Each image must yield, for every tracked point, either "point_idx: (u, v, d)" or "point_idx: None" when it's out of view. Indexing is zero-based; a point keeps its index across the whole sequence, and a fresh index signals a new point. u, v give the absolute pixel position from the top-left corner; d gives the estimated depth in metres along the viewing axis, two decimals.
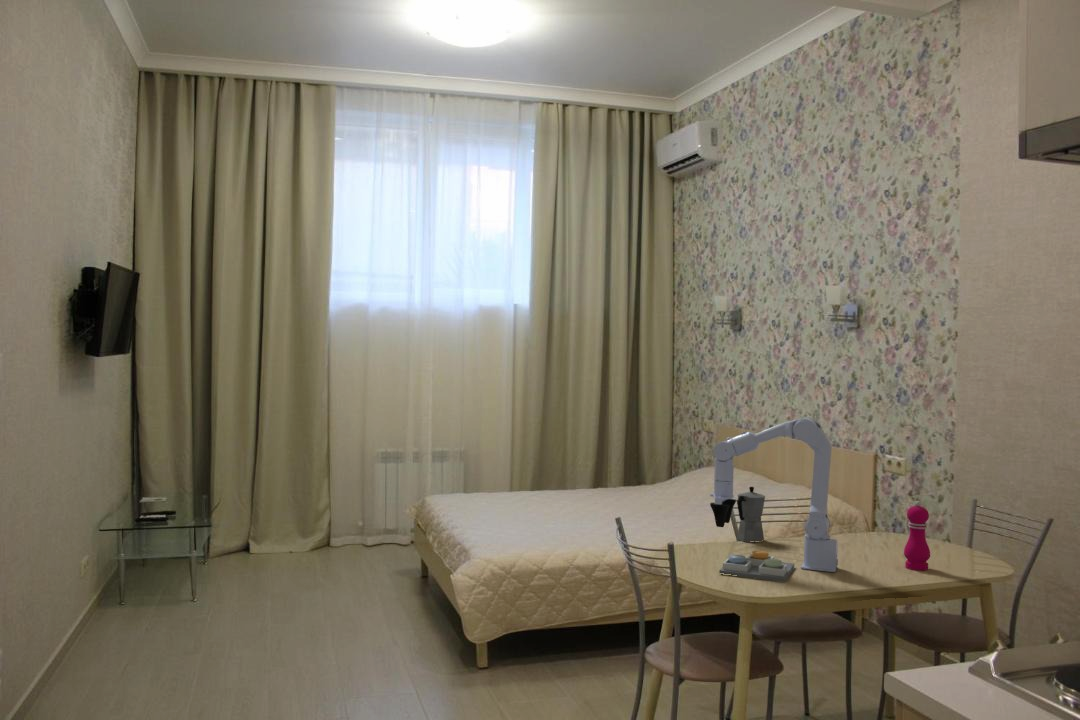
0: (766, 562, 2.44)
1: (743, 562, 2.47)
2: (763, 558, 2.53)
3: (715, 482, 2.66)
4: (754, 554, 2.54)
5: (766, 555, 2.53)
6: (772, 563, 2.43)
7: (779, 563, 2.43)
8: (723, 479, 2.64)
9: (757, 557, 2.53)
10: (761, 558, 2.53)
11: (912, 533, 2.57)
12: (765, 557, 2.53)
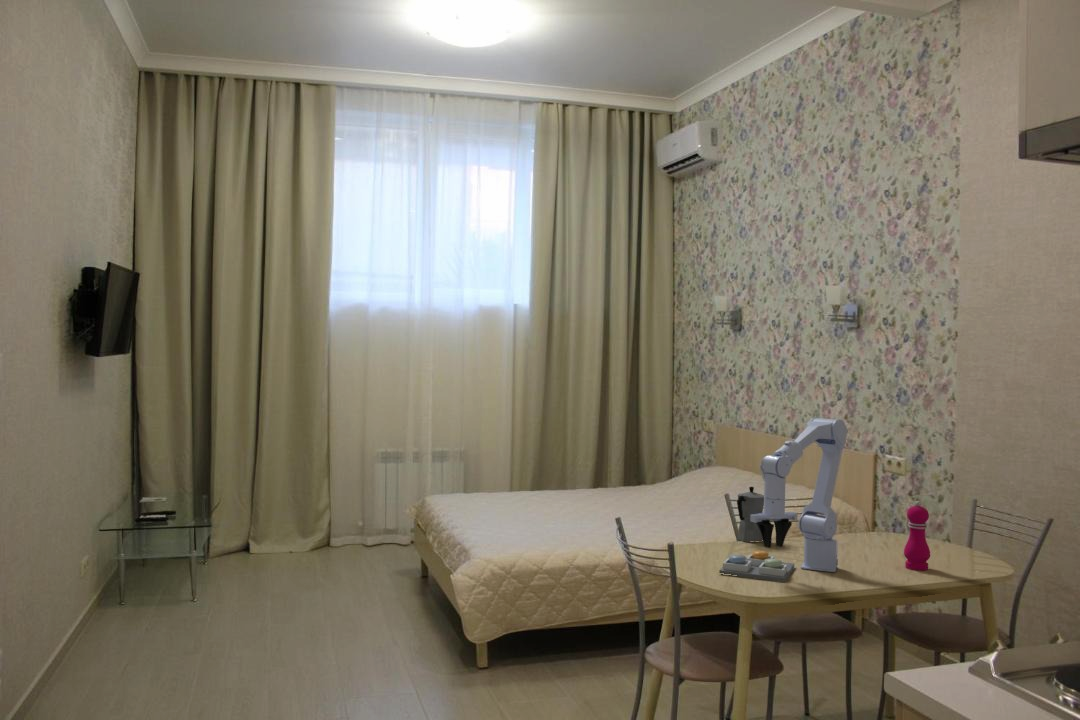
0: (766, 562, 2.44)
1: (743, 562, 2.47)
2: (763, 558, 2.53)
3: None
4: (754, 554, 2.54)
5: (766, 555, 2.53)
6: (772, 563, 2.43)
7: (779, 563, 2.43)
8: (783, 497, 2.43)
9: (757, 557, 2.53)
10: (761, 558, 2.53)
11: (912, 533, 2.57)
12: (765, 557, 2.53)
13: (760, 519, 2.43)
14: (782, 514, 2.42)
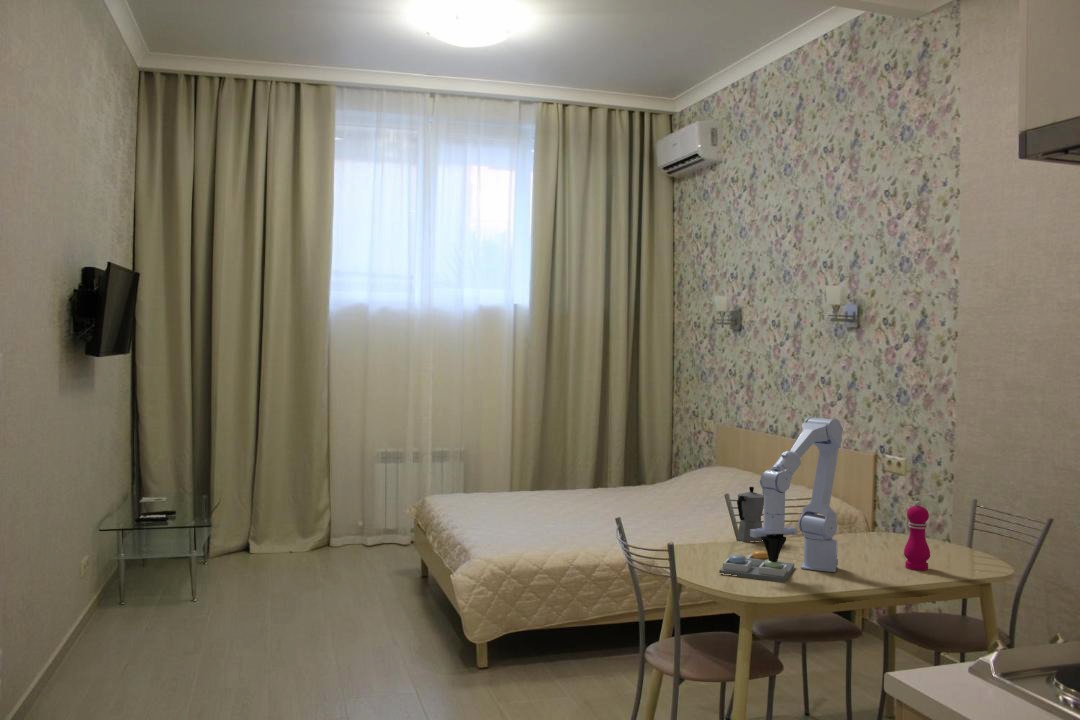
0: (766, 563, 2.44)
1: (743, 562, 2.47)
2: (763, 558, 2.53)
3: None
4: (754, 554, 2.54)
5: (766, 555, 2.53)
6: (772, 564, 2.43)
7: (779, 564, 2.43)
8: (783, 512, 2.43)
9: (757, 557, 2.53)
10: (761, 558, 2.53)
11: (912, 533, 2.57)
12: (765, 557, 2.53)
13: (760, 534, 2.43)
14: (782, 529, 2.42)
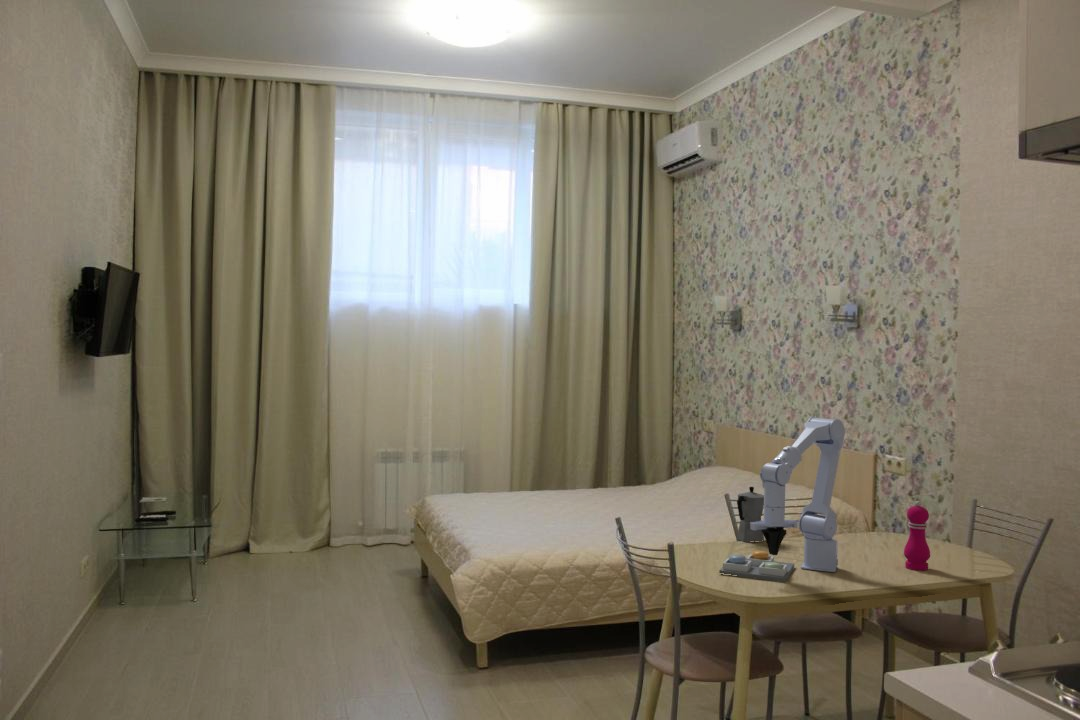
0: (766, 566, 2.44)
1: (743, 562, 2.47)
2: (763, 558, 2.53)
3: None
4: (754, 554, 2.54)
5: (766, 555, 2.53)
6: (772, 567, 2.43)
7: (779, 567, 2.43)
8: (783, 505, 2.43)
9: (757, 557, 2.53)
10: (761, 558, 2.53)
11: (912, 533, 2.57)
12: (765, 557, 2.53)
13: (760, 527, 2.43)
14: (782, 522, 2.42)
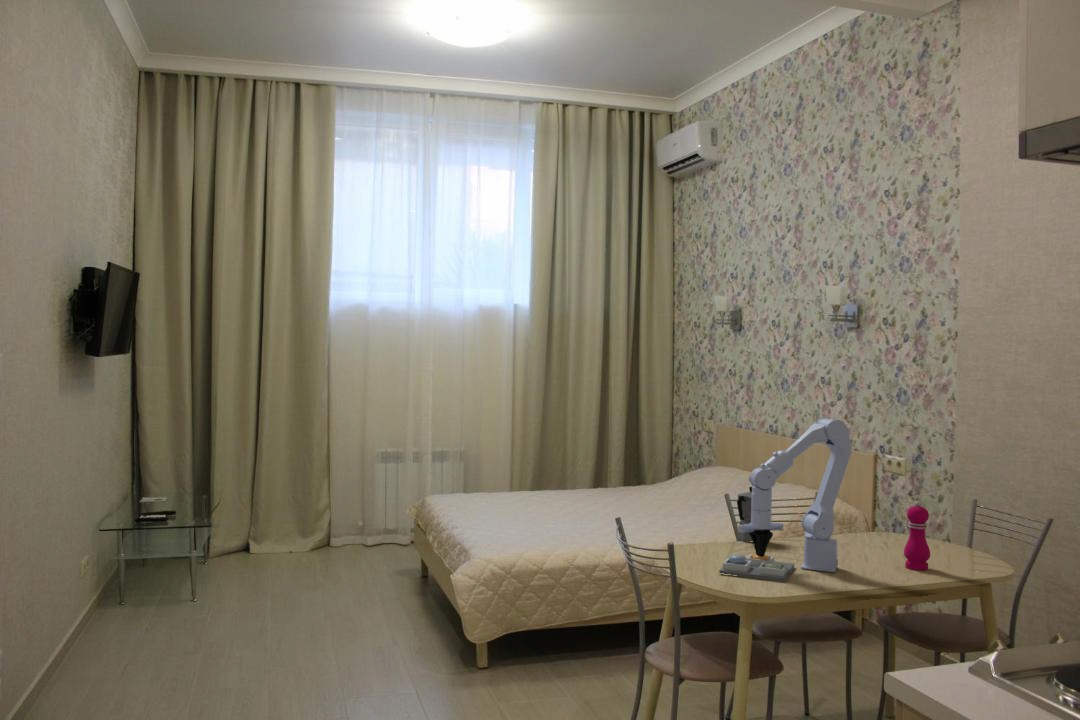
0: (766, 566, 2.44)
1: (743, 562, 2.47)
2: None
3: None
4: (754, 557, 2.54)
5: (766, 558, 2.53)
6: (772, 567, 2.43)
7: (779, 567, 2.43)
8: (766, 508, 2.52)
9: None
10: None
11: (912, 533, 2.57)
12: None
13: (747, 529, 2.53)
14: (768, 525, 2.53)
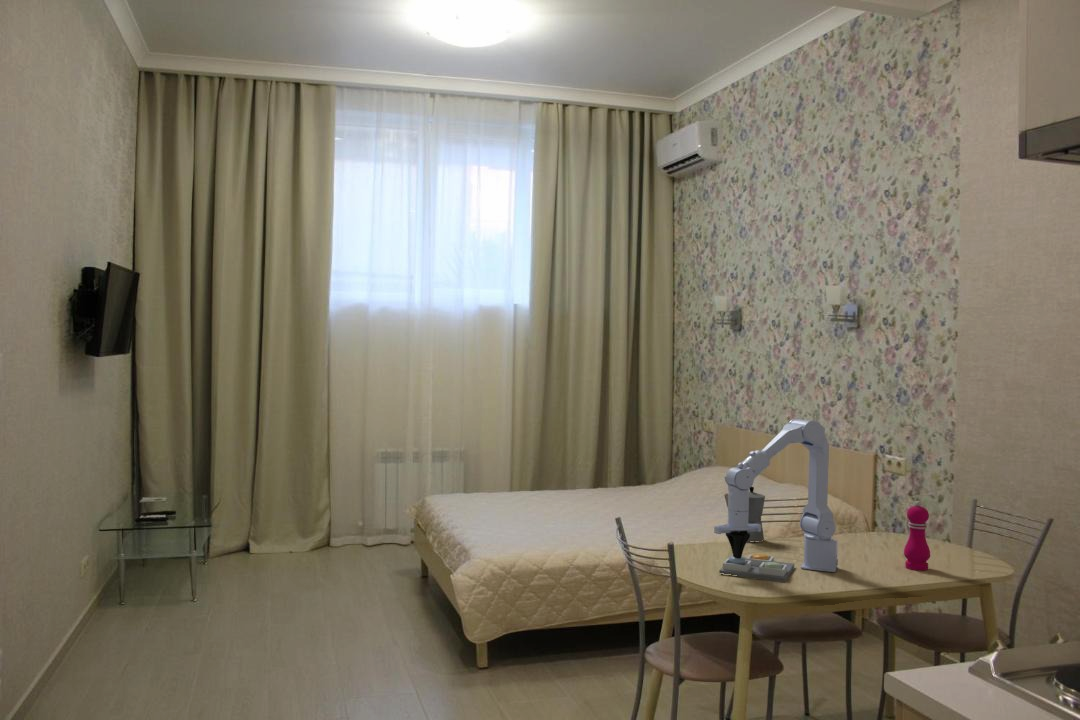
0: (766, 566, 2.44)
1: (743, 563, 2.47)
2: None
3: None
4: (754, 557, 2.54)
5: (766, 558, 2.53)
6: (772, 567, 2.43)
7: (779, 567, 2.43)
8: (744, 509, 2.46)
9: None
10: None
11: (912, 533, 2.57)
12: None
13: (724, 531, 2.47)
14: (745, 526, 2.46)
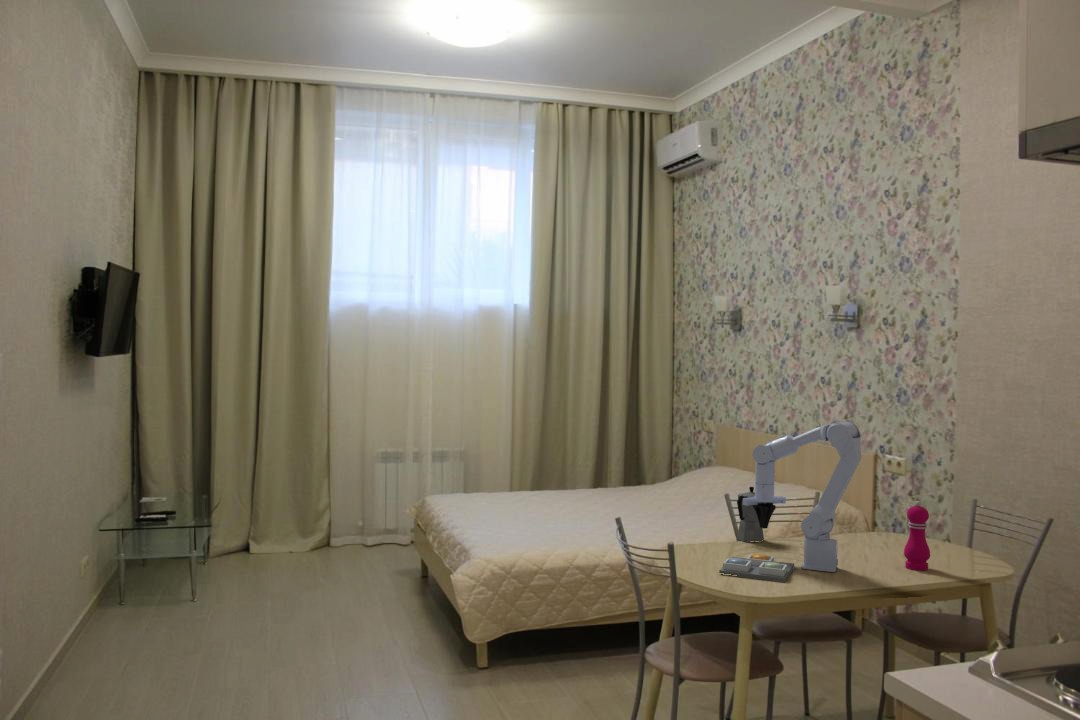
0: (766, 566, 2.44)
1: None
2: None
3: None
4: (754, 557, 2.54)
5: (766, 558, 2.53)
6: (772, 567, 2.43)
7: (779, 567, 2.43)
8: (762, 482, 2.65)
9: None
10: None
11: (912, 533, 2.57)
12: None
13: (751, 502, 2.65)
14: (771, 498, 2.65)
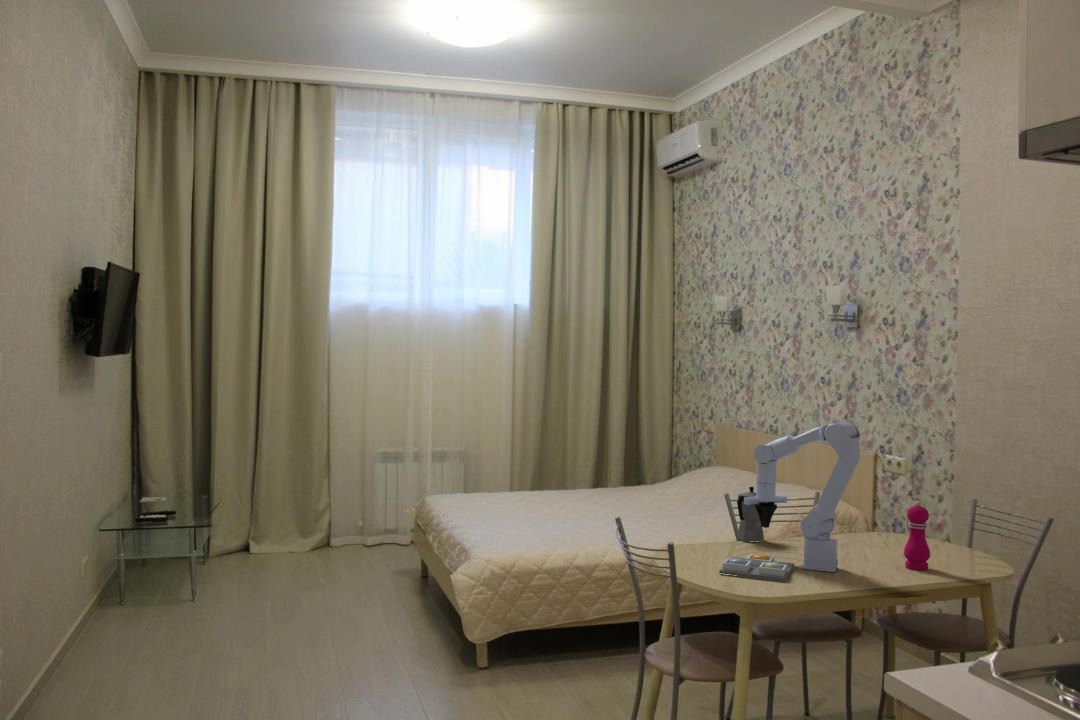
0: (766, 566, 2.44)
1: None
2: None
3: None
4: (754, 557, 2.54)
5: (766, 558, 2.53)
6: (772, 567, 2.43)
7: (779, 567, 2.43)
8: (762, 481, 2.66)
9: None
10: None
11: (912, 533, 2.57)
12: None
13: (753, 502, 2.66)
14: (773, 497, 2.66)
